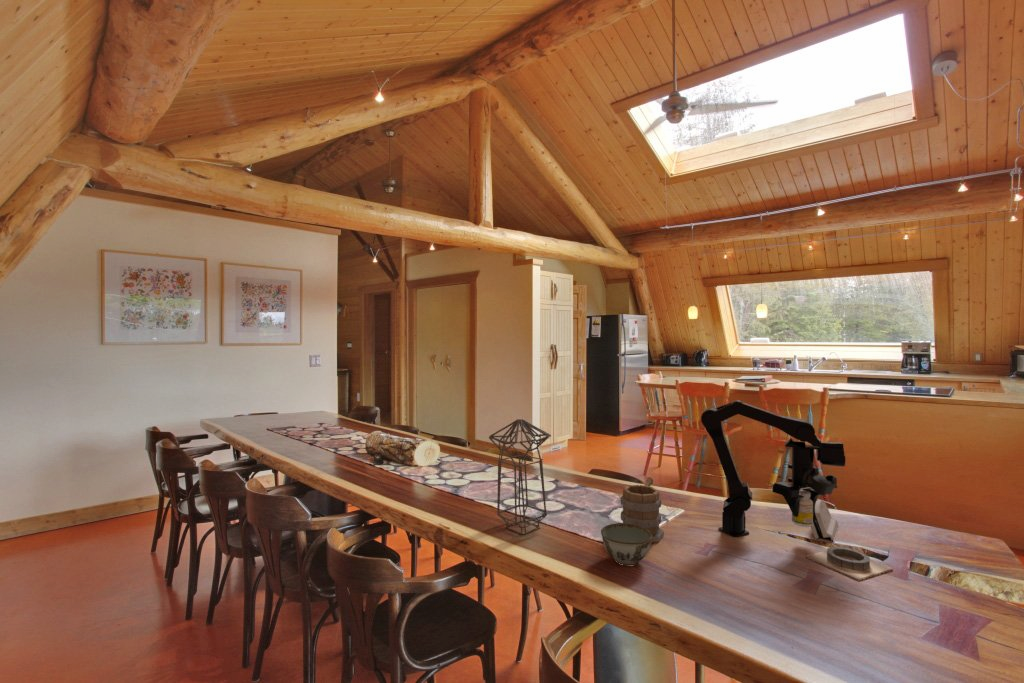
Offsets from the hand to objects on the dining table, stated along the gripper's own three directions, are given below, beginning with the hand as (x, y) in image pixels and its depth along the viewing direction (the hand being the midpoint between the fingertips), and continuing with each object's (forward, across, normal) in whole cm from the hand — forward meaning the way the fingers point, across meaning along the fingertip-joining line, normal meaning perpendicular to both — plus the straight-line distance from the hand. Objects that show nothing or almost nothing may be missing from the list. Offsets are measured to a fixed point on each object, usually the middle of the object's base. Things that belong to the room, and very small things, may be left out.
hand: (802, 515), depth 145 cm
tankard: (+9, -37, +26) cm, 46 cm away
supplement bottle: (+3, 0, 0) cm, 3 cm away
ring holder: (+8, -1, -14) cm, 16 cm away
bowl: (+9, -55, +11) cm, 57 cm away
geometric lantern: (+9, -72, +44) cm, 85 cm away
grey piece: (+9, +15, +4) cm, 18 cm away
